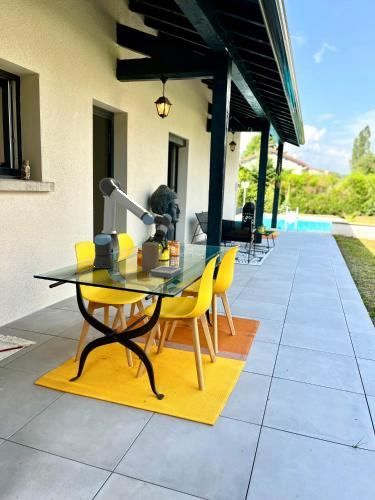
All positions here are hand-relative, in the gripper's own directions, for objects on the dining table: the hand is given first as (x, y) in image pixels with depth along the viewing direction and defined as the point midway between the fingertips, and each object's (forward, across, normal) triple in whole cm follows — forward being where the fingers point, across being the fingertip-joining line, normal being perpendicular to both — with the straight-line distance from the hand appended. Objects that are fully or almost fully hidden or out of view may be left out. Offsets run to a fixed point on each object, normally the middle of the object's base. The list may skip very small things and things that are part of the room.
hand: (151, 256), depth 265 cm
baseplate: (+11, -14, -4) cm, 19 cm away
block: (+8, +1, -8) cm, 11 cm away
